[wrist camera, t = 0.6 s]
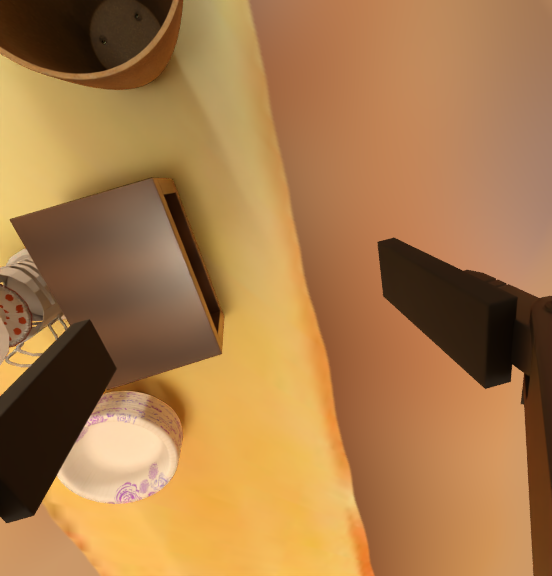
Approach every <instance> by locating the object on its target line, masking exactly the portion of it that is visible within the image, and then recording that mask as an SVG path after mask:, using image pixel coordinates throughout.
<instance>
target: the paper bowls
mask: <svg viewBox="0 0 552 576" xmlns="http://www.w3.org/2000/svg"><path fill="white" fill-rule="evenodd" d="M182 440H183V430H182V425H181V422H180V419H179V417H178V416H177V414H176V412H175V411H174V410H173V409H172V408H171V407H170V406H168V405H167V404H166V403H164V402H163V401H161V400H159V399H158V398H156V397H154V396H151V395H148V394H144V393H140V392H134V391H115V392H109V393H105V394H103V395H102V396H101V398H100V400H99V402H98V403H97V405H96V407H95V409H94V410H93V412H92V414H91V416H90V417H89V419H88V421H87V423H86V425H85V426H84V428H83V430H82V432H81V433H80V435H79V437H78V439H77V440H76V442H75V444H74V446H73V447H72V449H71V451H70V453H69V455H68V456H67V458H66V460H65V462H64V463H63V465H62V467H61V469H60V470H59V472H58V474H57V477H58V478H59V480H60V481H61V482H62V483H63V484H64V485H65V486H66V487H67V488H68V489H69V490H71V491H72V492H74V493H75V494H77V495H79V496H81V497H83V498H86V499H89V500H92V501H96V502H102V503H112V504H120V503H129V502H134V501H138V500H141V499H144V498H147V497H149V496H151V495H153V494H155V493H156V492H158V491H160V490H161V489H162V488H163V487H164V486H165V485H167V483H168V482H169V481H170V480H171V478H172V477H173V476H174V474H175V472H176V469H177V466H178V461H179V456H180V451H181V445H182Z"/></svg>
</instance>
